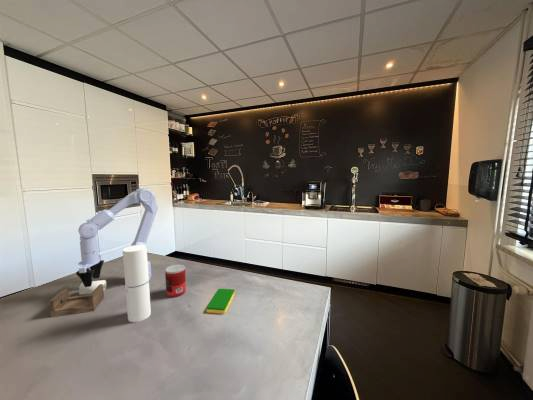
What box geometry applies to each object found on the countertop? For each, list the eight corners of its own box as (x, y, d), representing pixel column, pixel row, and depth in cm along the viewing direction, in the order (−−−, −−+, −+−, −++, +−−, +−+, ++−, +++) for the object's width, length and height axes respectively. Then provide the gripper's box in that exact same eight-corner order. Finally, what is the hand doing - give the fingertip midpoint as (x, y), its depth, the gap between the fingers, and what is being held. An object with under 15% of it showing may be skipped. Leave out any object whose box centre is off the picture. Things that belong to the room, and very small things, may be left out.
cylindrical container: (140, 323, 75) (135, 252, 72) (122, 320, 76) (117, 250, 73) (155, 310, 82) (151, 245, 79) (138, 308, 83) (134, 244, 80)
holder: (104, 297, 91) (102, 283, 90) (94, 310, 82) (92, 295, 81) (65, 303, 87) (64, 288, 86) (50, 317, 78) (49, 301, 78)
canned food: (189, 288, 98) (188, 264, 97) (180, 298, 90) (179, 272, 89) (172, 287, 99) (171, 263, 98) (162, 297, 91) (161, 271, 90)
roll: (107, 288, 98) (106, 277, 98) (102, 294, 93) (101, 283, 93) (85, 291, 96) (84, 280, 95) (79, 297, 91) (78, 285, 90)
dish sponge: (206, 313, 81) (206, 307, 81) (218, 293, 95) (218, 288, 94) (225, 315, 80) (224, 308, 80) (235, 294, 94) (234, 289, 93)
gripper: (86, 246, 98) (89, 275, 100) (68, 258, 84) (71, 292, 86) (105, 245, 100) (107, 273, 102) (90, 256, 86) (92, 289, 88)
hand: (92, 282), depth 94 cm, fingers open, 7 cm apart
